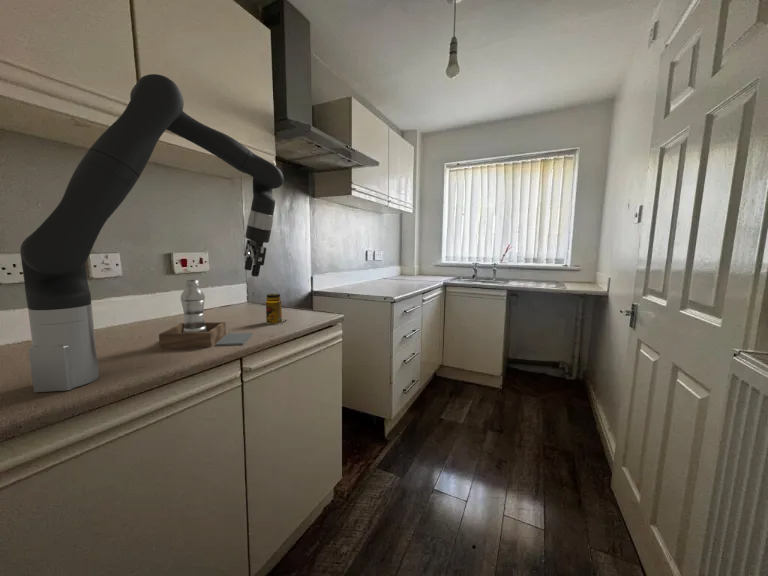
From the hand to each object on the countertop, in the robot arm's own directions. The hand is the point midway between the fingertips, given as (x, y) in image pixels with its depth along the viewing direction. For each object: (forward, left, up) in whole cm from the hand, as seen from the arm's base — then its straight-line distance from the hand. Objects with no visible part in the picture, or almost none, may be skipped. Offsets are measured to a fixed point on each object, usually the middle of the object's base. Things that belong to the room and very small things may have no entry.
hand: (251, 273), depth 102 cm
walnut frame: (-5, +16, -22) cm, 28 cm away
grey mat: (-5, +4, -22) cm, 23 cm away
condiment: (+19, -5, -22) cm, 30 cm away
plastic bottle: (-5, +16, -22) cm, 28 cm away
